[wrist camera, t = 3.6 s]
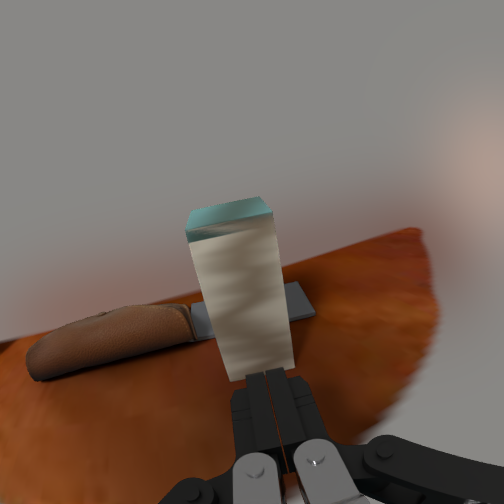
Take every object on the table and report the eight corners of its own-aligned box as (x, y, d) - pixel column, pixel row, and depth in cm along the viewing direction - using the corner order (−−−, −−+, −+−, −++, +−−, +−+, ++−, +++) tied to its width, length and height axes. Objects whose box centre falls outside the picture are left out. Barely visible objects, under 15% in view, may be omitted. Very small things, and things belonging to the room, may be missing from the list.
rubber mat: (189, 342, 26) (188, 339, 26) (192, 306, 32) (191, 303, 32) (315, 315, 27) (315, 311, 26) (297, 284, 33) (297, 281, 32)
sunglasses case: (187, 299, 32) (173, 263, 27) (205, 356, 28) (192, 329, 22) (53, 339, 28) (21, 313, 23) (57, 394, 24) (20, 375, 18)
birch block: (230, 381, 21) (185, 229, 16) (226, 342, 25) (191, 210, 21) (294, 367, 21) (272, 211, 16) (281, 330, 25) (259, 196, 21)
